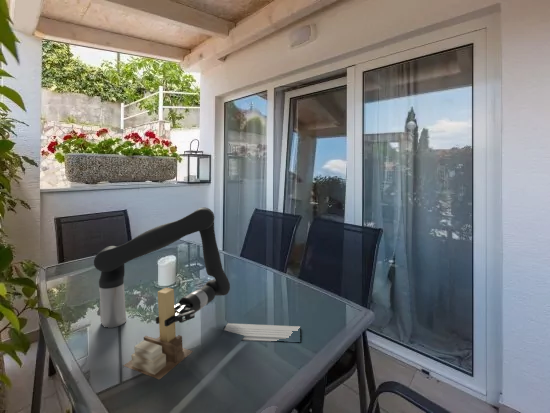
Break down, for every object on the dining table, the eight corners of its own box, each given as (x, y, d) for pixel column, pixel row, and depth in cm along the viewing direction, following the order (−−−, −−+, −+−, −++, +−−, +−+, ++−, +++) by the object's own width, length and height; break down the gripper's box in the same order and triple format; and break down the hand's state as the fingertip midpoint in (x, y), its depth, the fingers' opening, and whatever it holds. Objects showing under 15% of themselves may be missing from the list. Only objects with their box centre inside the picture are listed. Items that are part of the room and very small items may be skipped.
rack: (123, 369, 101) (121, 348, 100) (159, 344, 116) (158, 325, 115) (159, 383, 95) (158, 361, 94) (193, 355, 109) (192, 335, 108)
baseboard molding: (300, 346, 116) (300, 329, 127) (300, 339, 115) (300, 323, 127) (220, 342, 118) (227, 326, 130) (219, 335, 118) (227, 320, 130)
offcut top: (134, 354, 100) (134, 346, 100) (144, 348, 104) (144, 340, 104) (152, 361, 97) (152, 352, 97) (162, 354, 101) (161, 345, 100)
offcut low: (132, 366, 101) (131, 355, 100) (144, 357, 105) (143, 346, 105) (154, 374, 97) (154, 363, 96) (166, 365, 101) (165, 354, 101)
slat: (160, 350, 108) (157, 291, 105) (168, 344, 112) (166, 287, 109) (168, 353, 107) (165, 293, 104) (176, 347, 110) (173, 289, 107)
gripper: (179, 290, 123) (145, 308, 107) (208, 296, 117) (176, 316, 102) (180, 307, 124) (146, 328, 108) (208, 314, 118) (177, 337, 103)
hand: (161, 322), depth 105 cm, fingers closed on slat, 3 cm apart
